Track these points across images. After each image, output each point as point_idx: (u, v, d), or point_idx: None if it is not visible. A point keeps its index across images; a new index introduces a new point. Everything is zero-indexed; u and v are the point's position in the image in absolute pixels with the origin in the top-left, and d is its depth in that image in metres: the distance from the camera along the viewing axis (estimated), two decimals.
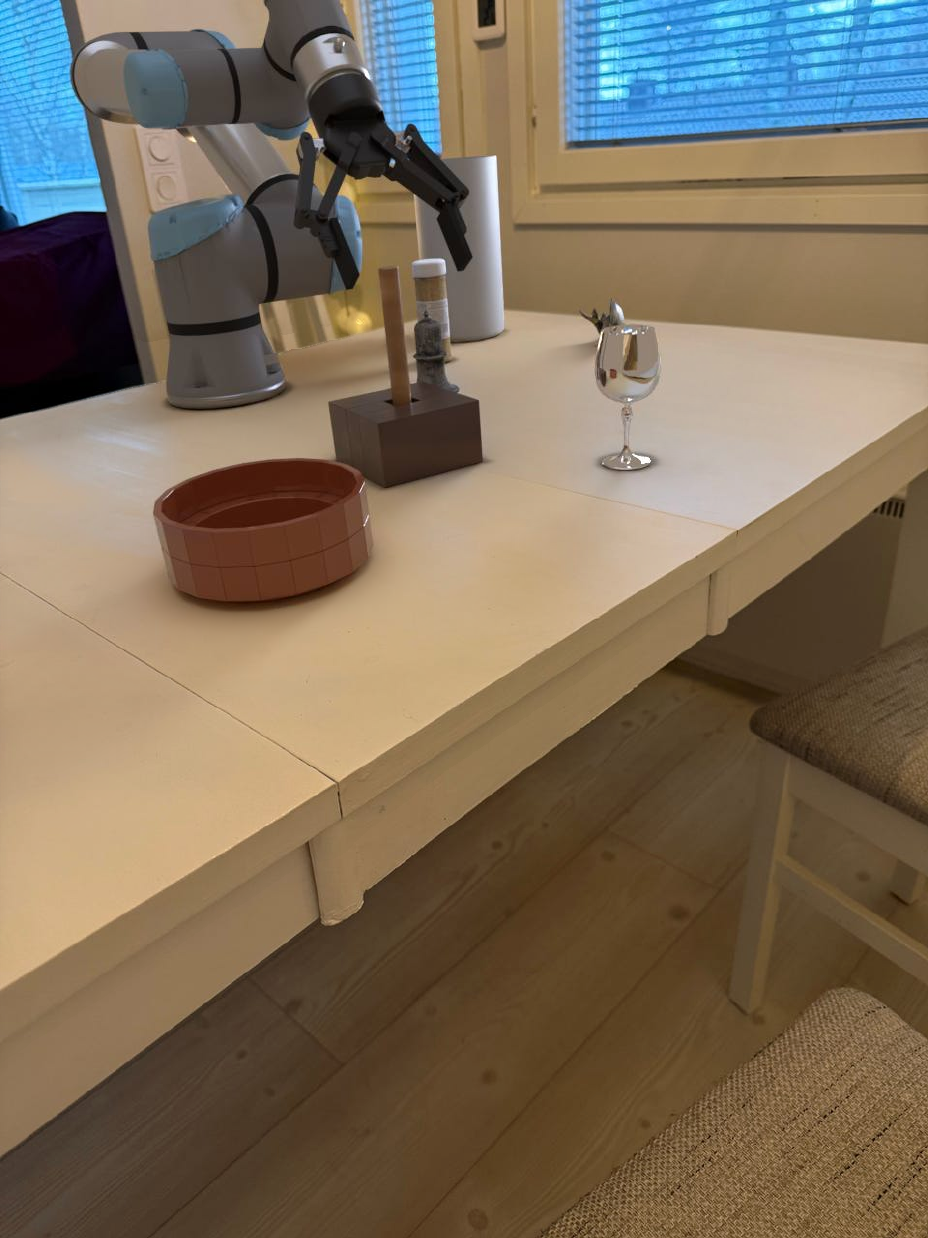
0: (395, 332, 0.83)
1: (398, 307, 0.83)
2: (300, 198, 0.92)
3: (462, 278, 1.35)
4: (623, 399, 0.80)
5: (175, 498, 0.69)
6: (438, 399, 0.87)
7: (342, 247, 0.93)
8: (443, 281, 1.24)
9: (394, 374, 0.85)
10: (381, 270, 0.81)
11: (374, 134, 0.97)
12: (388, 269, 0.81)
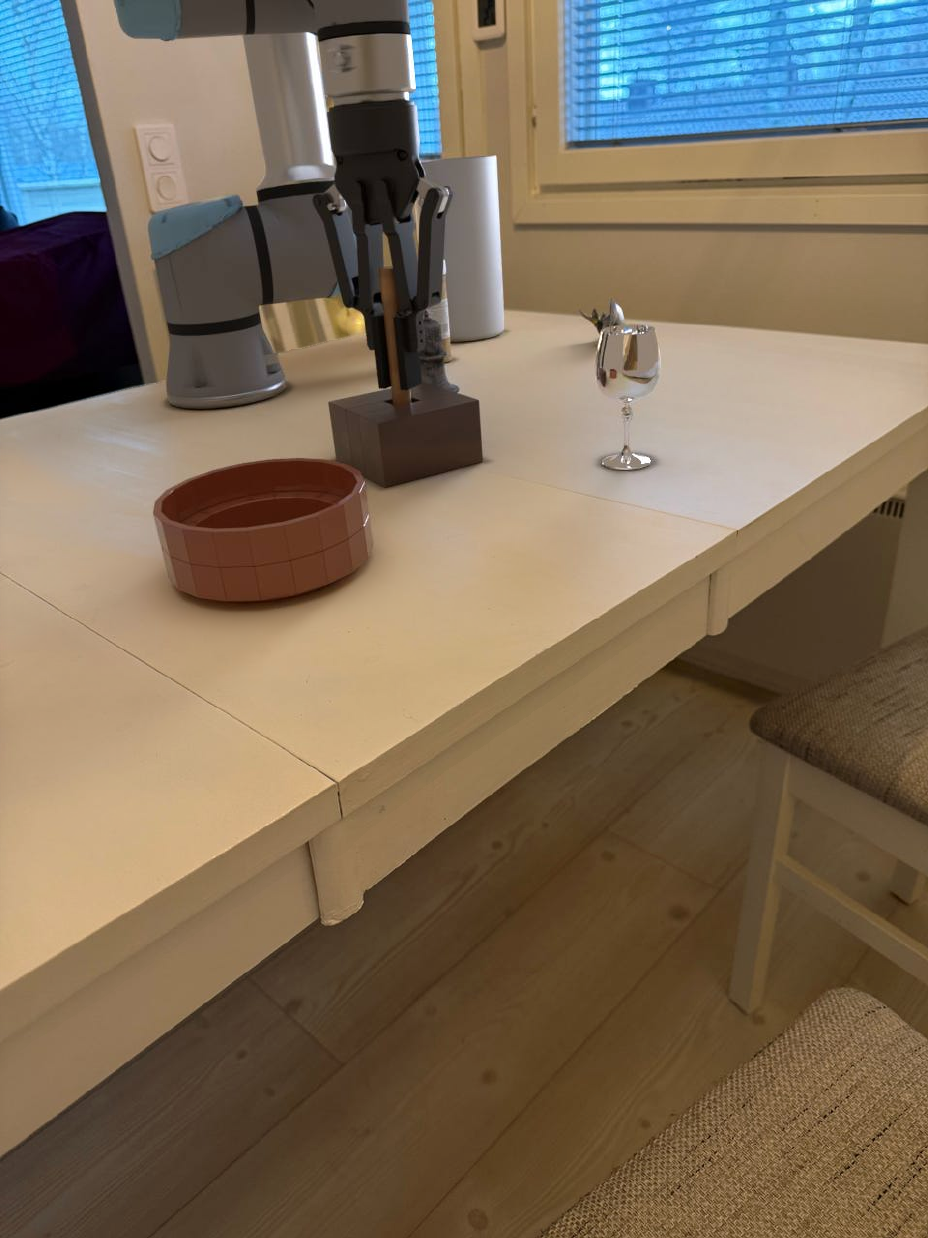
0: None
1: (398, 307, 0.83)
2: (340, 289, 0.83)
3: (462, 278, 1.35)
4: (623, 399, 0.80)
5: (175, 498, 0.69)
6: (438, 399, 0.87)
7: (375, 354, 0.85)
8: (443, 281, 1.24)
9: (394, 374, 0.85)
10: (381, 270, 0.81)
11: (377, 186, 0.77)
12: (388, 269, 0.81)
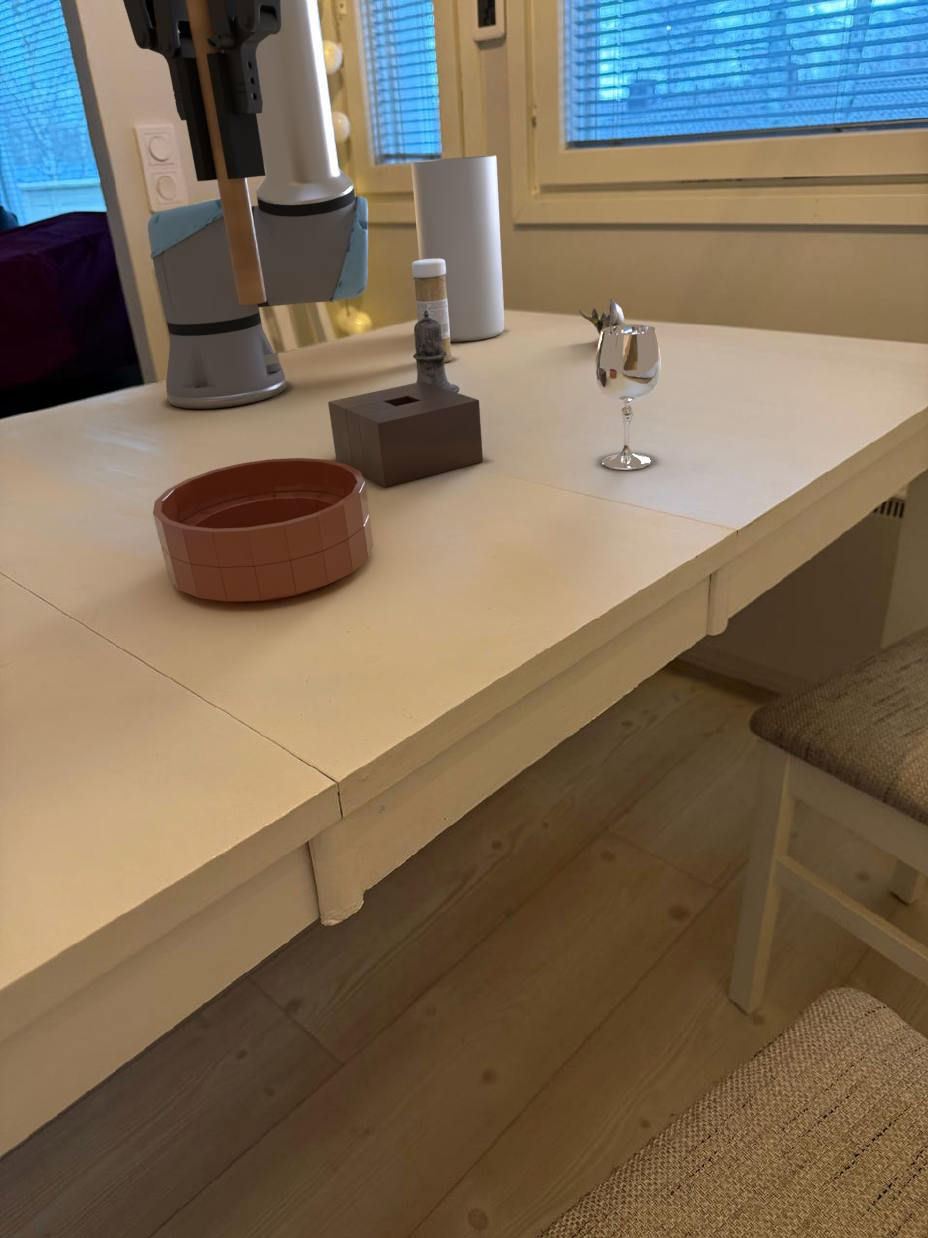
0: None
1: None
2: (129, 16, 0.54)
3: (462, 278, 1.35)
4: (623, 399, 0.80)
5: (175, 498, 0.69)
6: (438, 399, 0.87)
7: (187, 122, 0.55)
8: (443, 281, 1.24)
9: (218, 155, 0.56)
10: None
11: None
12: None
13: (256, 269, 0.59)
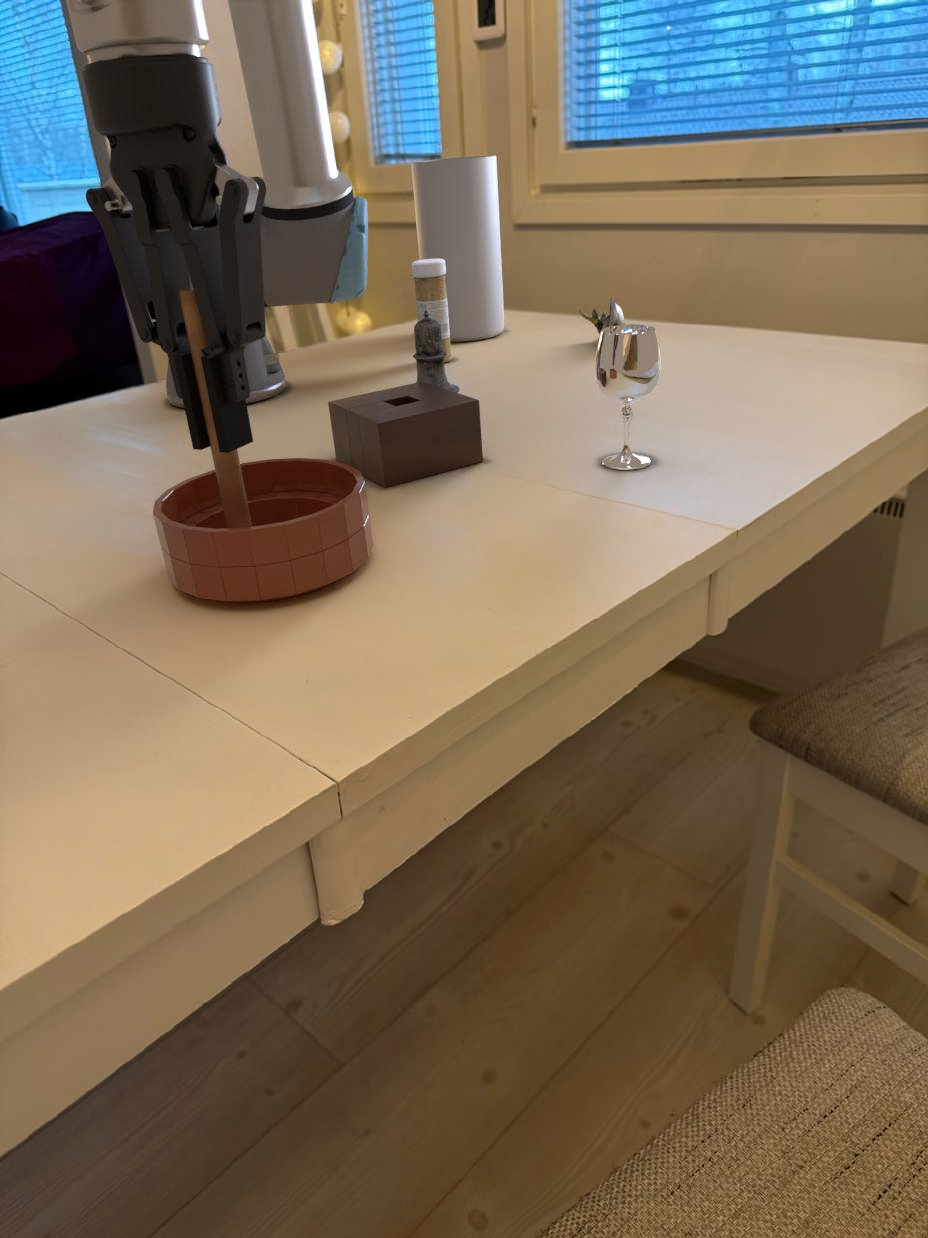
0: None
1: None
2: (133, 317, 0.62)
3: (462, 278, 1.35)
4: (623, 399, 0.80)
5: (175, 498, 0.69)
6: (438, 399, 0.87)
7: (184, 404, 0.63)
8: (443, 281, 1.24)
9: (211, 431, 0.63)
10: (181, 293, 0.59)
11: (159, 177, 0.55)
12: (190, 291, 0.59)
13: (245, 517, 0.67)
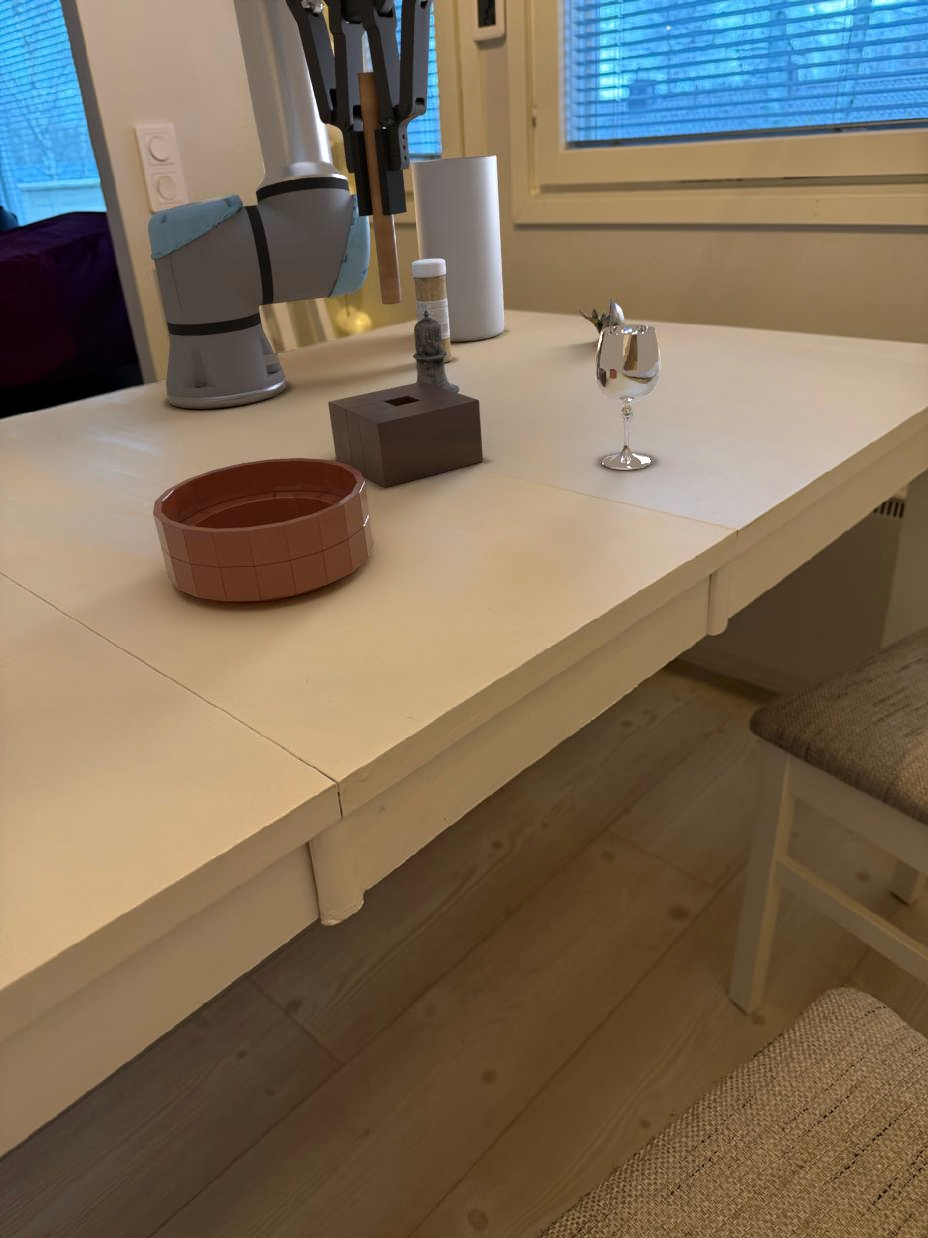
0: None
1: (379, 119, 0.76)
2: (316, 101, 0.76)
3: (462, 278, 1.35)
4: (623, 399, 0.80)
5: (175, 498, 0.69)
6: (438, 399, 0.87)
7: (355, 175, 0.78)
8: (443, 281, 1.24)
9: (376, 198, 0.78)
10: (360, 74, 0.74)
11: None
12: (368, 73, 0.74)
13: (397, 278, 0.81)
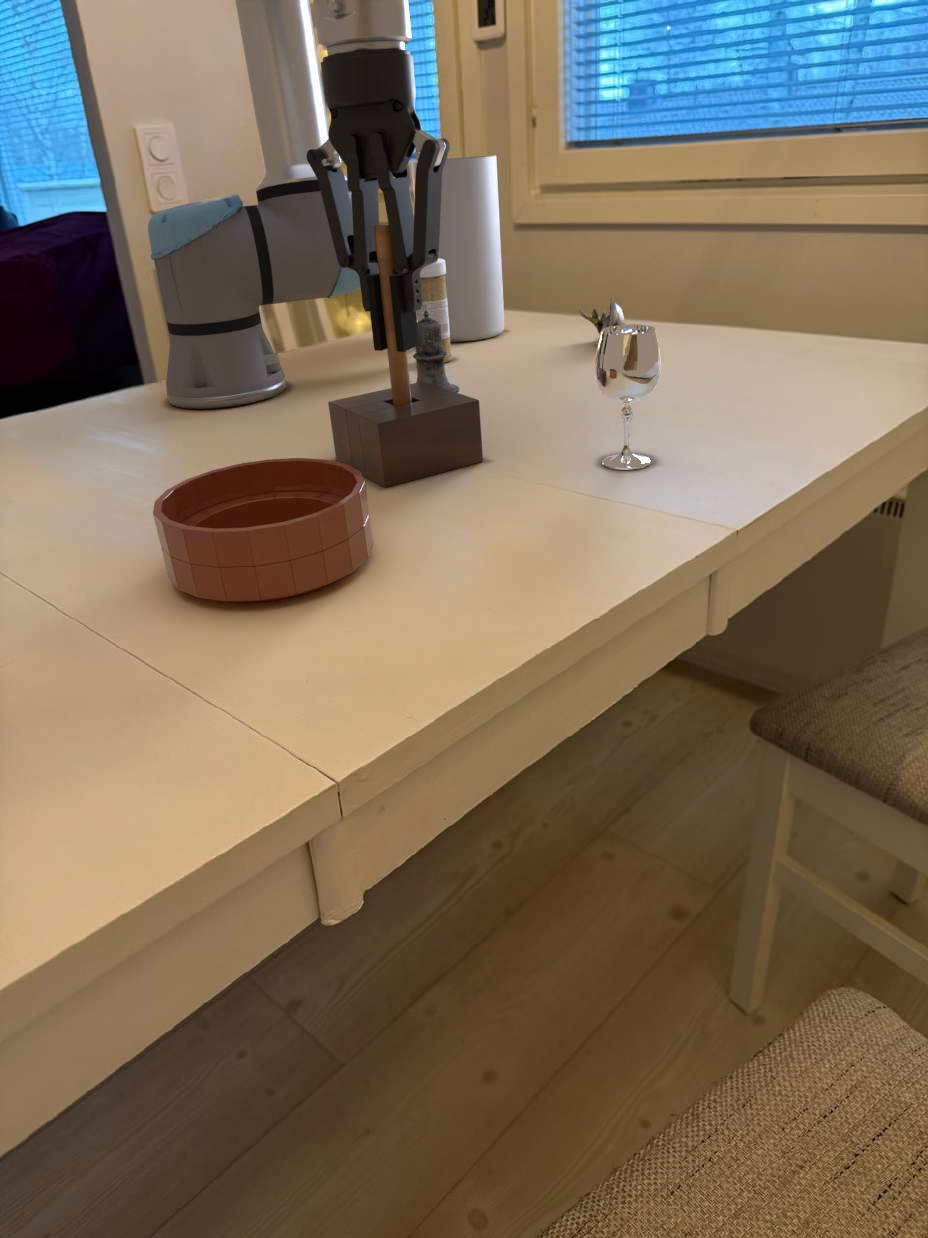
0: None
1: (394, 265, 0.81)
2: (335, 248, 0.82)
3: (462, 278, 1.35)
4: (623, 399, 0.80)
5: (175, 498, 0.69)
6: (438, 399, 0.87)
7: (371, 314, 0.83)
8: (443, 281, 1.24)
9: (390, 335, 0.83)
10: (376, 227, 0.79)
11: (372, 139, 0.75)
12: (384, 225, 0.79)
13: None
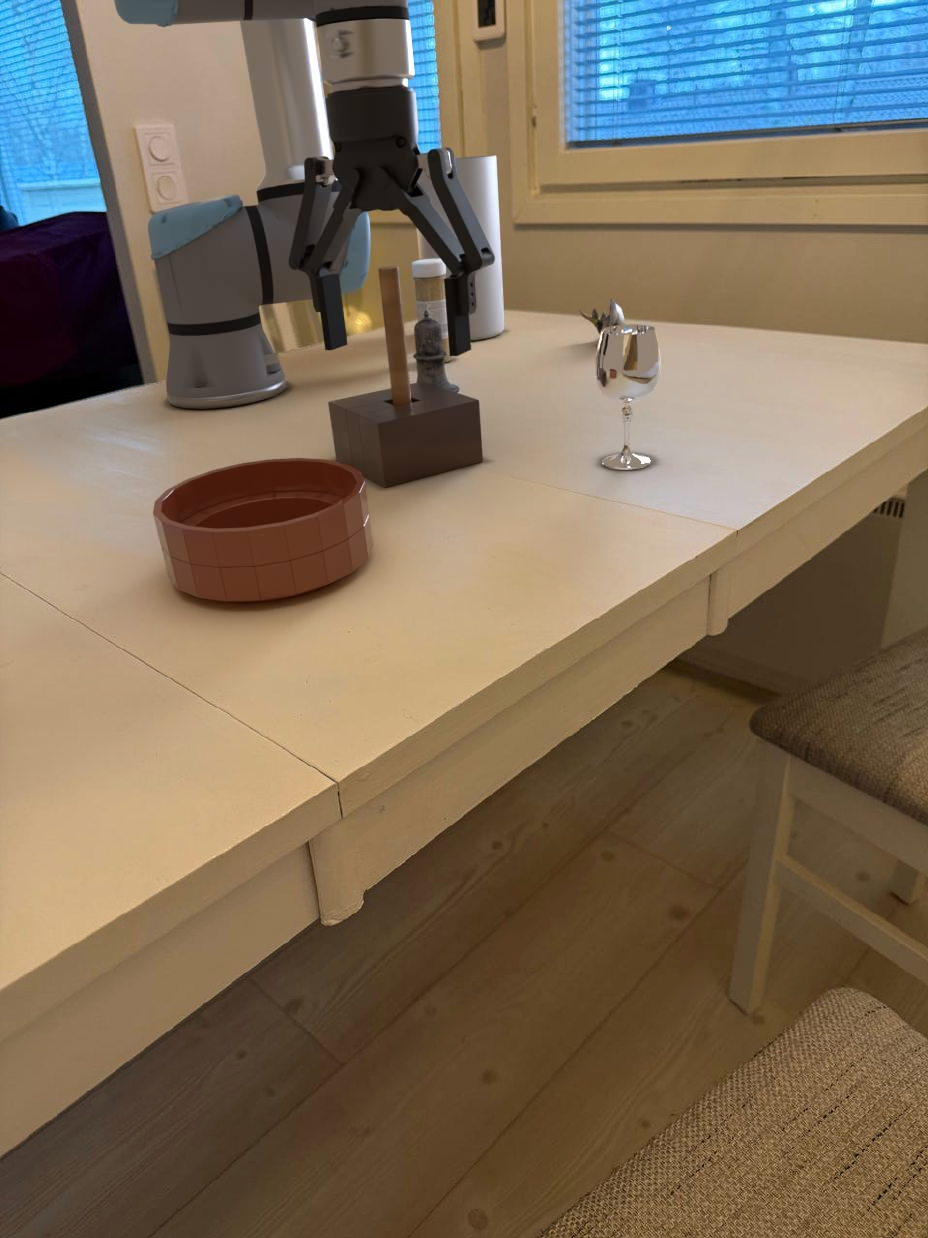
0: (395, 332, 0.83)
1: (398, 307, 0.82)
2: (292, 248, 0.84)
3: None
4: (623, 399, 0.80)
5: (175, 498, 0.69)
6: (438, 399, 0.87)
7: (321, 315, 0.86)
8: (443, 281, 1.24)
9: (394, 374, 0.85)
10: (381, 270, 0.81)
11: (376, 173, 0.76)
12: (388, 269, 0.81)
13: None
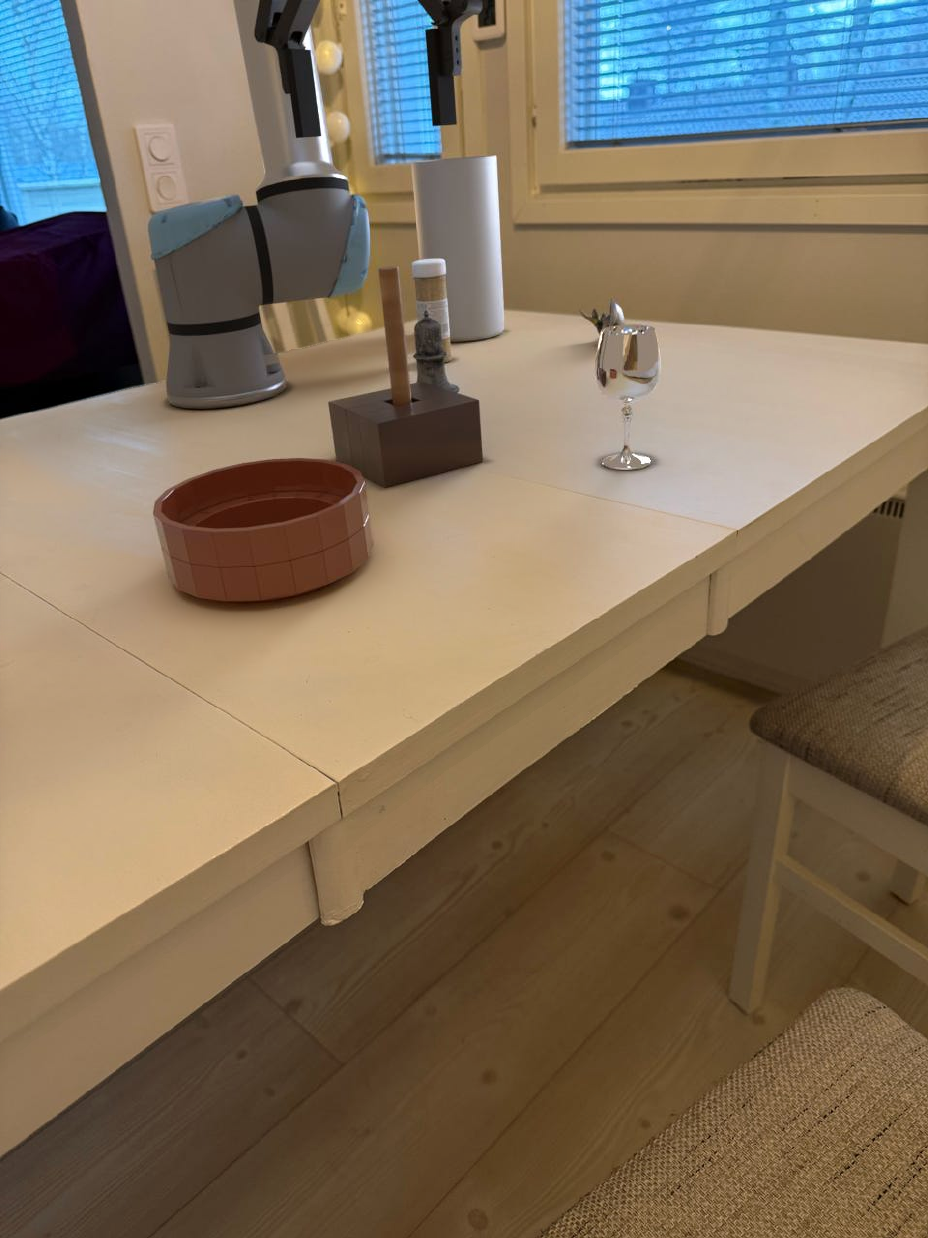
0: (395, 332, 0.83)
1: (398, 307, 0.82)
2: (257, 15, 0.76)
3: (462, 278, 1.35)
4: (623, 399, 0.80)
5: (175, 498, 0.69)
6: (438, 399, 0.87)
7: (291, 95, 0.77)
8: (443, 281, 1.24)
9: (394, 374, 0.85)
10: (381, 270, 0.81)
11: None
12: (388, 269, 0.81)
13: None
